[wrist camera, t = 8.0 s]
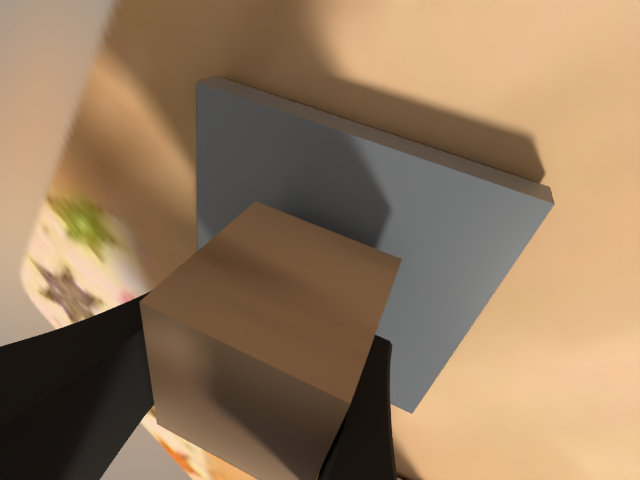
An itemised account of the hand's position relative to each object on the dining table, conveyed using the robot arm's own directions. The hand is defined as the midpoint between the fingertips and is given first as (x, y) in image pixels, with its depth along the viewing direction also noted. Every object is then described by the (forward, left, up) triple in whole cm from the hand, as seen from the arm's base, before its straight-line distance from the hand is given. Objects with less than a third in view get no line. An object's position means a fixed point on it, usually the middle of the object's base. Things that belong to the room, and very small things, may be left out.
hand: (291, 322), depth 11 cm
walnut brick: (0, 0, -1) cm, 1 cm away
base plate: (0, 0, -3) cm, 3 cm away
